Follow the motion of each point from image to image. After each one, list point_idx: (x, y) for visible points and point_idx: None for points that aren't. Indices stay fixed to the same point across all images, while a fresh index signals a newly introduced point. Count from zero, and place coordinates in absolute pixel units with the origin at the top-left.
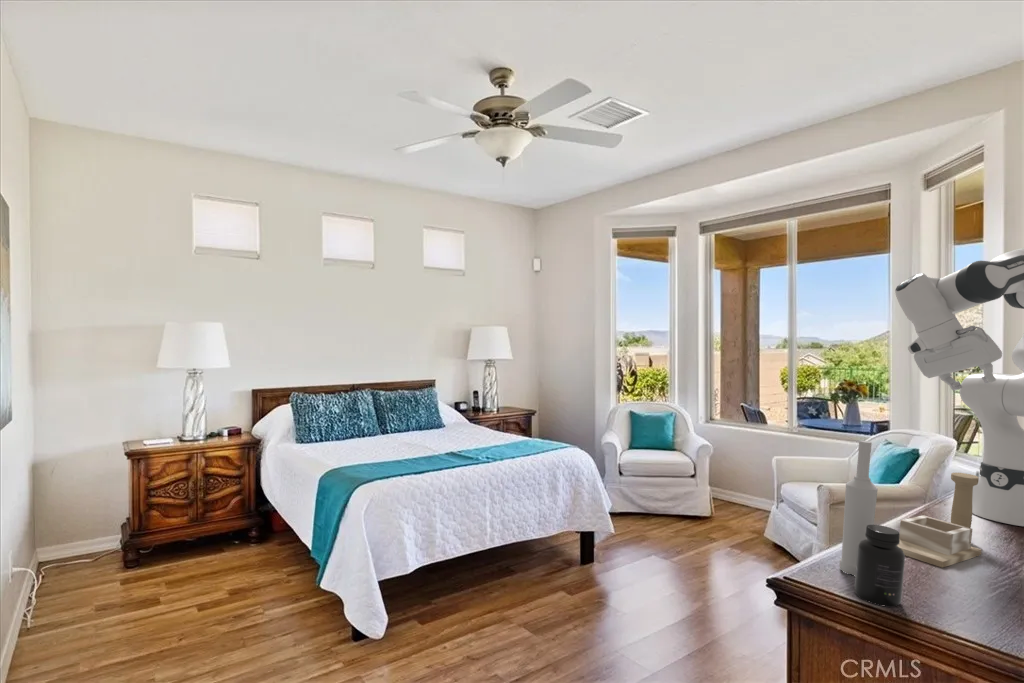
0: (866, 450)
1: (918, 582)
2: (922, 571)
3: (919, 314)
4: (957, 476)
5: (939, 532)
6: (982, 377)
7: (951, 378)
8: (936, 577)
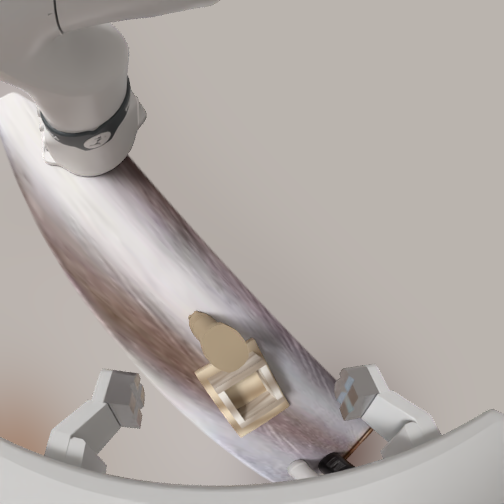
0: None
1: (311, 433)
2: (293, 423)
3: None
4: (235, 370)
5: (276, 406)
6: (348, 418)
7: (87, 427)
8: (303, 417)
